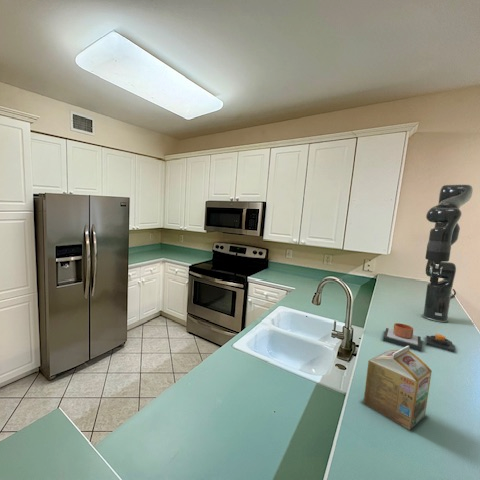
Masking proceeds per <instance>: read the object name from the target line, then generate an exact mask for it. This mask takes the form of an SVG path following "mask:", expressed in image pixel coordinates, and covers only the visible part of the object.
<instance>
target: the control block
mask: <svg viewBox="0 0 480 480" xmlns="http://www.w3.org/2000/svg"><path fill="white" fill-rule="evenodd" d="M425 340H426V341H425V343H426V346H428V347H431V348H435V349H439V350H443V351H446V352H449V353H450V352H451V353H455V347H454V344H453V341H451V340H449V339H448V338H445V341H442V340H438V339H436V338H435V335H426V336H425Z"/></svg>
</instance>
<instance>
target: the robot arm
mask: <svg viewBox="0 0 480 480" xmlns="http://www.w3.org/2000/svg"><path fill="white" fill-rule="evenodd" d="M473 191H474V189H473V186H472V185H471V184H445V185H443V186H441V188H440V190H439V193H438V204H437V205H434V206H432V207H430V209H429V210H427V212H426V214H425V215H426V216H425V218H426V220H427V221H428V222H430V223H433V224H434V226H433V228H430V230H429V236H428V242H427V244H426V249H425V250H426V251H425V260H427V261H426V265H425V275H426V276H427V277H429V283H427V286H426V292H425V300H424V306H423V314H422V317H423V318H425V319H426V320H430V321H434V322H436V323H437V322H438V323H447V322H448V317H449V316H448V315H449V311H450V305H451V299H452V298H453V297H455V296H456V294H457V292H456V290H455V288H453V287H454V281H455V279H456V273H457V266H456V264H455V263H454V262H449V261H450V258H451V252H452V251H451V250H452V246H453V245H454V244H456V242H458V239H459V235H460V229H461V227H460V224H459V223H458V222H459V221H460V219H461V218H462V210H460V208H461V207H463V206H464V205H466V204H467V203H468V202H469V201H470V200H471V198H472V196H473ZM439 279H441V280H439ZM452 291H453V295H452Z"/></svg>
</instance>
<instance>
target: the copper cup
mask: <svg viewBox="0 0 480 480" xmlns="http://www.w3.org/2000/svg"><path fill="white" fill-rule="evenodd" d="M393 329H394V330H393V333H394V334H395V335H396V336H399V337H402V338H407V339H410V338H412V336H413V334H414V327H413V326H411V325H408V324H405V323H399V322H394V324H393Z"/></svg>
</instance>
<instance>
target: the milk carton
mask: <svg viewBox="0 0 480 480" xmlns="http://www.w3.org/2000/svg"><path fill="white" fill-rule="evenodd" d="M431 378H432V369H431V368H430V367H429V366H428V364H427V363H425V362H424V361H423V360H422V359H421V358H420V357H419V356H417V355H416V354H415V353H414V352H412V351H411V349H409V346H406V347H402V348H400V349H392V350H391V349H390V350H387V351H384V352H382V353H380V354H378V355H377V356H374V357H372V358H371V359H369V360H368V362H367V370H366V378H365V379H366V380H365V387H364V396H363V404H364V405H365V406H366V407H367V406H368V407H369V408H371V409H372V410H373V411H376V412H378V413H379V414H380V415H383V416H384V417H387V418H388V419H390V420H392V421H393V422H395V423H397V424H398V425H400V426H402V427H403V428H405V429H407V430H409V431H411V429H413V427H414V428H415V425H417V424H418V423H419V422H420V421H421V420H423V419H424V418H425V416H426V411H427V405H428V398H429V392H430V385H431Z"/></svg>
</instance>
